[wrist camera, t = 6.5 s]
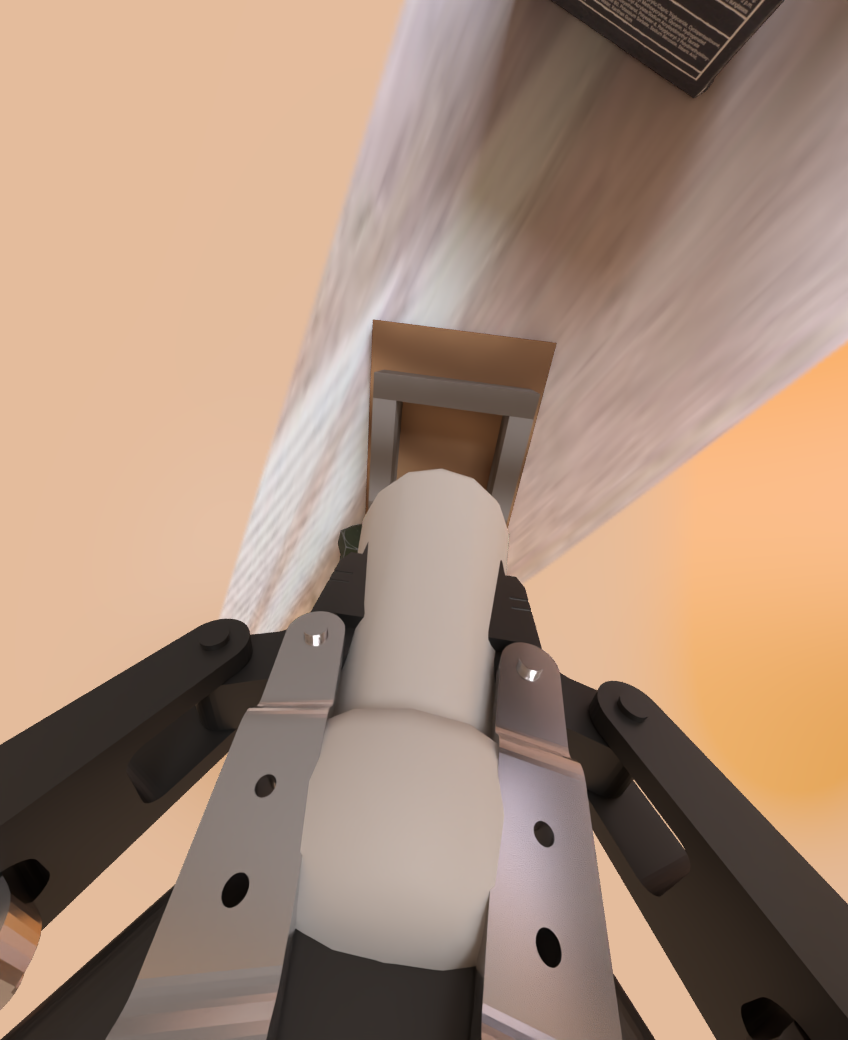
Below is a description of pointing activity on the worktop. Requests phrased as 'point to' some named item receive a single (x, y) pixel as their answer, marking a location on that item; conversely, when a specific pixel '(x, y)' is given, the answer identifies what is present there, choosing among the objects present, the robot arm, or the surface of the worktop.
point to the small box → (677, 33)
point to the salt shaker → (412, 738)
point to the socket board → (453, 405)
